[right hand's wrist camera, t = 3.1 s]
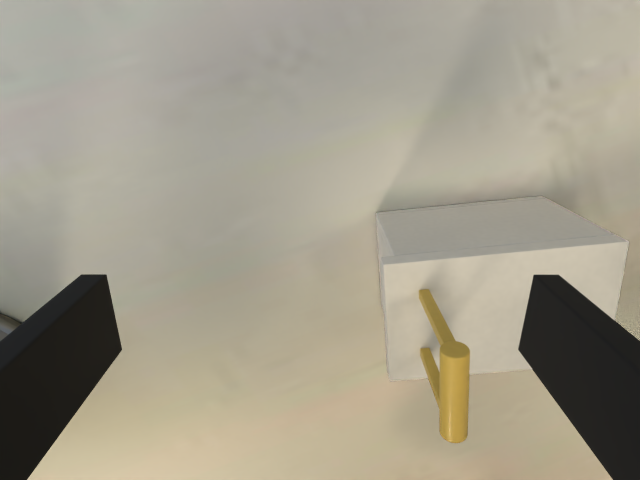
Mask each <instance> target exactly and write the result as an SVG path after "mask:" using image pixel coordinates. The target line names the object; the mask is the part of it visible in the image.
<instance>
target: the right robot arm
mask: <svg viewBox="0 0 640 480" xmlns="http://www.w3.org/2000/svg"><path fill="white" fill-rule="evenodd" d="M121 350H122V347H121V343H120V338H119V333H118V328H117V323H116V319H115V314H114V309H113V304H112V299H111V295H110V290H109V285H108V280H107V275H80V276H79V277H78V278H77V279H75V280H74V281H73V282H72V283H71V284H69V285H68V286H67V287H66V288H64V289H63V290H62V291H61V292H60V293H58V294H57V295H56V296H55V297H54V298H52V299H51V300H50V301H49V302H47V303H46V304H45V305H44V306H43V307H41V308H40V309H39V310H38V311H36V312H35V313H34V314H33V315H32V316H30V317H29V318H28V319H27V320H26V321H24V322H23V323H22V324H21V323H19V322H17V321H15V320H14V319H12V318H9V317H7V316H5V315H2V314H0V480H27V479H28V477H29V476H30V475H31V473H32V472H33V471H34V469H35V468H36V466H37V465H38V464H39V462H40V461H41V460H42V458H43V457H44V456H45V454H46V453H47V451H48V450H49V449H50V447H51V446H52V445H53V443H54V442H55V441H56V439H57V438H58V436H59V435H60V434H61V432H62V431H63V430H64V428H65V427H66V425H67V424H68V423H69V421H70V420H71V419H72V417H73V416H74V415H75V413H76V412H77V410H78V409H79V408H80V406H81V405H82V404H83V402H84V401H85V399H86V398H87V397H88V395H89V394H90V393H91V391H92V390H93V389H94V387H95V386H96V384H97V383H98V382H99V380H100V379H101V378H102V376H103V375H104V373H105V372H106V371H107V369H108V368H109V367H110V365H111V364H112V363H113V361H114V360H115V358H116V357H117V356H118V354H119V353H120V352H121ZM518 350H519V352H520V353H521V354H522V356H523V357H524V358H525V360H526V361H527V363H528V364H529V365H530V367H531V368H532V369H533V371H534V372H535V373H536V375H537V376H538V378H539V379H540V380H541V382H542V383H543V384H544V386H545V387H546V389H547V390H548V391H549V393H550V394H551V395H552V397H553V398H554V399H555V401H556V402H557V404H558V405H559V406H560V408H561V409H562V410H563V412H564V413H565V415H566V416H567V417H568V419H569V420H570V421H571V423H572V424H573V425H574V427H575V428H576V430H577V431H578V432H579V434H580V435H581V436H582V438H583V439H584V441H585V442H586V443H587V445H588V446H589V447H590V449H591V450H592V451H593V453H594V454H595V456H596V457H597V458H598V460H599V461H600V462H601V464H602V465H603V466H604V468H605V469H606V471H607V472H608V473H609V475H610V476H611V477H612V479H613V480H640V341H639V340H638V339H636V338H635V337H634V336H633V335H632V334H630V333H629V332H628V331H627V330H625V329H624V328H623V327H622V326H621V325H619V324H618V323H617V322H616V321H614V320H613V319H612V318H611V317H610V316H608V315H607V314H606V313H605V312H604V311H602V310H601V309H600V308H599V307H597V306H596V305H595V304H594V303H593V302H591V301H590V300H589V299H588V298H586V297H585V296H584V295H583V294H582V293H580V292H579V291H578V290H577V289H576V288H574V287H573V286H572V285H571V284H569V283H568V282H567V281H566V280H565V279H563V278H562V277H561V276H560V275H533V280H532V285H531V290H530V295H529V299H528V304H527V309H526V314H525V319H524V323H523V328H522V333H521V338H520V343H519V347H518Z"/></svg>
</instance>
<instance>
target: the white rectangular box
mask: <svg viewBox="0 0 640 480" xmlns="http://www.w3.org/2000/svg"><path fill="white" fill-rule="evenodd" d="M628 246H629V241H628V240H626V239H624V238H622V237H620V236H618V235H606V236H596V237H585V238H575V239H565V240H554V241H544V242H533V243H523V244H513V245H502V246H492V247H481V248H471V249H461V250H450V251H440V252H429V253H419V254H408V255H398V256H388V257H381V272H382V290H383V308H384V326H385V343H386V361H387V373H388V377H389V381H390V382H392V381H404V380H416V379H429V382H430V384H431V387H432V390H433V393H434V395H435V398H436V401H437V404H438V406H439V409H440V434H441V436H442V437H443V438H444V439H445V440H447V441H449V442H452V443H460V442H463V441H464V440H465V439H466V438H467V432H468V401H469V375H475V374H487V373H498V372H510V371H522V370H533V369H532V368H531V367H530V365H529V364H528V363H527V361H526V360H525V358H524V357H523V356H522V354H521V353H520V352H519V350H518V347H519V343H520V338H521V333H522V328H523V323H524V319H525V314H526V309H527V304H528V299H529V295H530V290H531V285H532V280H533V275H560V276H561V277H562V278H563V279H565V280H566V281H567V282H568V283H569V284H571V285H572V286H573V287H574V288H576V289H577V290H578V291H579V292H580V293H582V294H583V295H584V296H585V297H586V298H588V299H589V300H590V301H591V302H593V303H594V304H595V305H596V306H597V307H599V308H600V309H601V310H602V311H604V312H605V313H606V314H607V315H608V316H610V317H611V318H612V319H613V320H614V321H615V319H616V313H617V308H618V302H619V297H620V291H621V285H622V280H623V274H624V269H625V263H626V258H627V252H628Z"/></svg>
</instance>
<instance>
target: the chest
mask: <svg viewBox="0 0 640 480" xmlns="http://www.w3.org/2000/svg"><path fill="white" fill-rule="evenodd" d="M376 225H377V242H378V259H379V276H380V293H381V305H382V309H383V313H384V308H383V290H382V272H381V257H388V256H398V255H408V254H419V253H429V252H440V251H450V250H461V249H471V248H481V247H492V246H502V245H513V244H523V243H533V242H544V241H554V240H565V239H575V238H585V237H596V236H606V235H615V234H614V233H612V232H610V231H608V230H606V229H604V228H603V227H601V226H599V225H597V224H595V223H593V222H591V221H589V220H587V219H585V218H583V217H582V216H580V215H578V214H576V213H574V212H572V211H570V210H568V209H566V208H564V207H563V206H561V205H559V204H557V203H555V202H553V201H551V200H549V199H547V198H545V197H543V196H535V197H525V198H515V199H505V200H495V201H485V202H475V203H465V204H455V205H445V206H435V207H425V208H415V209H405V210H395V211H385V212H376Z"/></svg>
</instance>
